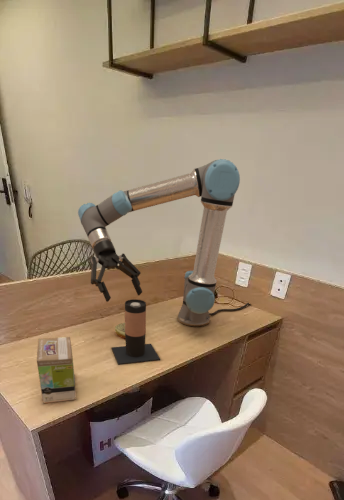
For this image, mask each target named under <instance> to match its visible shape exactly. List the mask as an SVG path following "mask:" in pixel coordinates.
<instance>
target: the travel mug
mask: <svg viewBox="0 0 344 500" xmlns="http://www.w3.org/2000/svg"><path fill="white" fill-rule="evenodd" d="M124 323H125V338H124V340H125V342H124V343H125V346H126V354H127V355H128V356H130V357H141V356H143V355H144V353H145V344H146V335H147V303H146V302H145V300H142V299H136V298H133V299H132V298H131V299H127V300H126V301H124Z"/></svg>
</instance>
